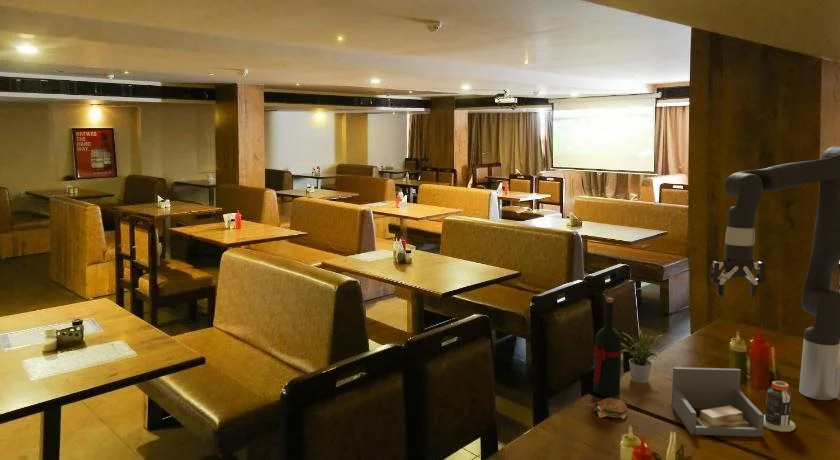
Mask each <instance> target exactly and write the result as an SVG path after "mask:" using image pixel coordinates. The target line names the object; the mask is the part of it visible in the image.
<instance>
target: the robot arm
mask: <svg viewBox="0 0 840 460" xmlns="http://www.w3.org/2000/svg"><path fill="white" fill-rule="evenodd" d="M817 182H818V183H819V184H818V187H819V188H818V198H817V199H818V201H817V209H816V218H815V222H814V229H813V237H812V244H811V245H812V246H811V251H810V257H809V258H810V259H809V265H808V270H807V274H806V277H805V282H804V285H803V290H802V293H801V301H800V302H801V307H802V309H803V311H805V312H806V313H808V314H809V315H811V316H813V317H815V319H814V325H813V326H810V327H807V328H805V330H804V332H803V341H802V354H801V364H800V376H799V384H798V385H799V386H798V388H799V389H798V391H799V393H800V394H801V395H803V396H805V397H806V398H810V399H813V400H820V401H831V400H834V399H838V398H839V389H840V367H839V355H840V292H839V291H837V290H834V289H832V288H831V286H832V285H831V283H832V278H833V272H834V270H835V268H836V266H837V265H838V263H839V262H840V145H833V146H831V147H828V148H827V149H826V150H824V152H823V153H822V155H821V158H820V159H815V160H805V161H796V162H788V163H787V162H786V163H782V164H777V165H773V166H769V167H766V168H760V169H749V170H743V171H742V170H741V171H738V172H735V173H731V174H730V175H729V176H728V177H727V178H726V179H725V182H724V190H725V192H726V193H727V194H729V195H730V196H732V197H736V198H737V200H736V204H735V205H734V206H731V207H729V209H728V210H727V211H728V213H727V225H726V231H725V237H724V238H725V239H724V252H723V253H724V254H723V256H724V259H723V261H716V260H713V261H712V263H711V268H710V277H709V280H710V281H711V282H713V283H714V284H716V294H717V295H718V297H719V298H724V294H725V285H724V284H725V283H726V281H728V280H730V278H731V277H732V278H738V277H740V278H746V279H747V280H748V281H749V282H750V283H749V284H748V297H749V298H754V297H755V296H756V295H757V289H758V288H757V287H758V284H759V285H760V284H764V283H765V280H766V279H765V273H766V272H765V271H766V270H765V268H766V265H765V263H764V262H762V261H760V260H759V261H756V262H754V254H755V252H754V250H755V242H756V238H755V237H756V234H755V232H756V231H755V227H756V226H755V225H756V213H757V210H758V208H759V205H760V202H761V199H762V196H763V192H775V191H777V192H778V191H781V190H785V189H791V188H793V187H794V188H795V187H799V186H802V185H807V184H811V183H813V184H814V183H817ZM721 268H723V269H724V270H723V271H722V272H721V273H720V275H719V271H720V270H721ZM754 268H755V270H756V278H755V276H754V275H753V273H752V272H751V271H752V269H754Z"/></svg>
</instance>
